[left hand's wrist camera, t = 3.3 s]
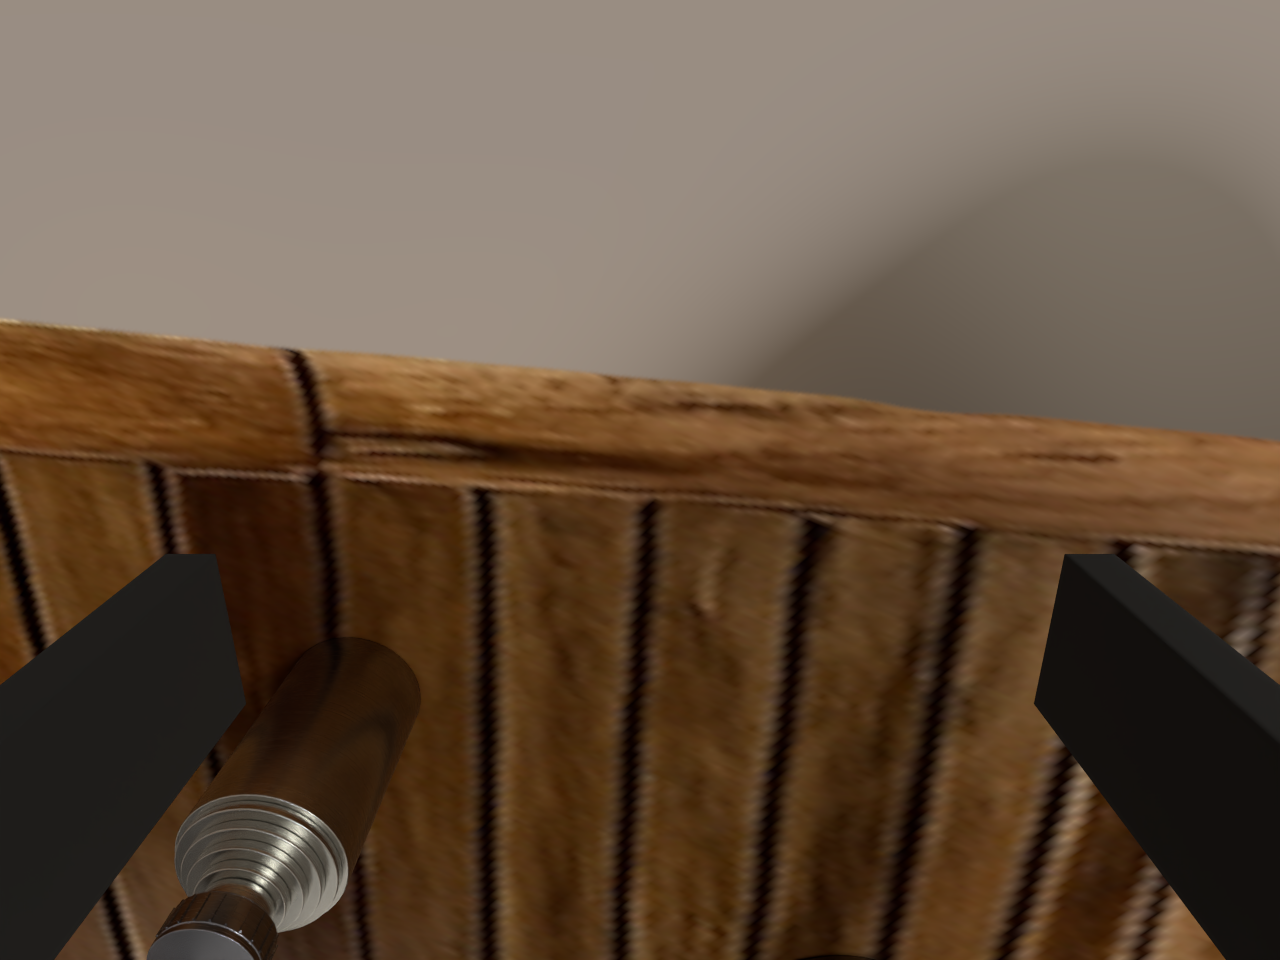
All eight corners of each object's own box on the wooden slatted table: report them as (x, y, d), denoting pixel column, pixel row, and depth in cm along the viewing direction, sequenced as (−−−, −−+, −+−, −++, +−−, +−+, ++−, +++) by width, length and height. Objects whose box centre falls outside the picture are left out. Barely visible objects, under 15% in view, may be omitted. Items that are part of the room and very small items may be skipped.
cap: (284, 971, 32) (265, 1013, 31) (177, 966, 32) (152, 1007, 31) (274, 892, 31) (254, 931, 29) (162, 886, 31) (136, 925, 29)
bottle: (422, 749, 48) (314, 1033, 32) (296, 742, 48) (124, 1024, 32) (419, 641, 45) (298, 892, 29) (285, 633, 45) (91, 881, 29)
